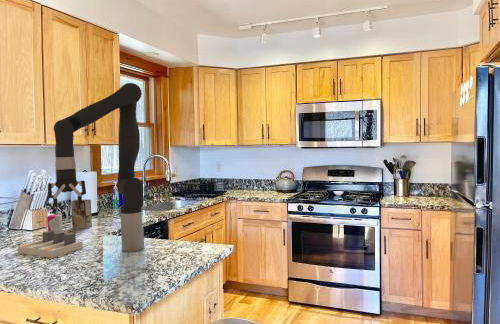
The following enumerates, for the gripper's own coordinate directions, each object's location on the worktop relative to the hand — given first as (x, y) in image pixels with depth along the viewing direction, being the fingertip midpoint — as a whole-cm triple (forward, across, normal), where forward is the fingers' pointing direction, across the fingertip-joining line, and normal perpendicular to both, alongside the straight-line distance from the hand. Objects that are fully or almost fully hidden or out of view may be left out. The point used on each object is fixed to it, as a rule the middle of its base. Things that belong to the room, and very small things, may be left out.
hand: (68, 206), depth 153 cm
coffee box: (+23, -14, -62) cm, 67 cm away
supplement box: (+23, +2, -47) cm, 52 cm away
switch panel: (+22, +6, -20) cm, 30 cm away
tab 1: (+21, +6, -28) cm, 35 cm away
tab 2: (+21, +2, -22) cm, 30 cm away
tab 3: (+21, -2, -16) cm, 26 cm away
